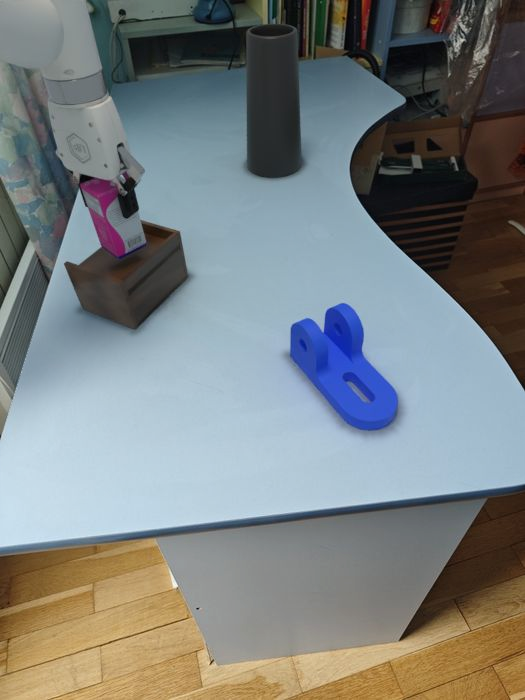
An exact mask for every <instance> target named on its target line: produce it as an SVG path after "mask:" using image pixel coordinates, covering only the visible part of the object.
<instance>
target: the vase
mask: <svg viewBox="0 0 525 700" xmlns="http://www.w3.org/2000/svg"><path fill="white" fill-rule="evenodd" d="M245 36H246V37H245V38H246V39H245V40H246V41H245V43H246V46H245V47H246V49H245V50H246V51H245V52H246V53H245V55H246V57H245V58H246V61H245V62H246V66H245V67H246V68H245V69H246V73H245V74H246V75H245V76H246V167H247V169H248V171H249V172H250V173H251V174H254V175H256V176H259V177H263V178H272V179H273V178H283V177H288V176H290V175H293V174H295V173H296V172H298V171H299V170H300V169H301V167H302V161H303V159H302V136H301V135H302V131H301V130H302V128H301V126H302V125H301V100H300V99H301V98H300V97H301V96H300V70H299V41H298V40H299V39H298V37H299V36H298V28H296V27H295V26H293V25H290V24H286V23H264V24H258V25H255V26H252V27H250V28H248V29H247V31H246V35H245Z"/></svg>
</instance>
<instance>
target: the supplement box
mask: <svg viewBox="0 0 525 700" xmlns="http://www.w3.org/2000/svg"><path fill="white" fill-rule="evenodd" d="M119 178H120V179H121V181H122V182H123V184H124V183H125V181H126V180H125V178H124V177H123V176H121V175H120V176H119ZM80 186H81V189H82V192H83V195H84V197H85V200H86V203H87V206H88V207H87V209H88V212H89V214H90V215H89V216H90V218H91V220H92V221H91V222H92V224H93V228H94V229H95V232H96V235H97V238H98V241H99V244H100V246H101V247H103V248H105V249H106V250H107V251H108V252H110V253H111V254H112V255H113V256H115V257H116V258H117V259H118V260H119V259H122V258H123V257H125V256H127V255H129V254H131V253H133V252H135V251H137V250H139V249H141V248H143V247H145V246H147V243H146V239H145V236H144V232H143V228H142V224H141V220H142V219H141V218H140V213H139V210H138V211H137V212H136V213H135V214H133V215H132V216H131V217H129V218H128V219H126V218H124V217H123V215H122V212H121V208H120V204H119V201H118V197H117V195H118V194H119V193H120V192H119V191H118V189H117V188H116V186H115V184H114V183H113V181H112V180H104V179H99V178H96V177H95V178H93V179H91V180H89V181H86V182H84V183H81V184H80Z"/></svg>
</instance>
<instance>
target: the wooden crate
mask: <svg viewBox="0 0 525 700" xmlns="http://www.w3.org/2000/svg"><path fill="white" fill-rule="evenodd" d="M140 220H141V224H142V228H143V232H144V236H145V239H146V243H147V246H145V247H143V248H141V249H139V250H137V251H135V252H133V253H131V254H129V255H127V256H125V257H123V258H122V259H119V260H118V259H117V258H116V257H115V256H113V255H112V254H111V253H110V252H108V251H107V250H106V249H105V248H103V247H102V246H101V247H99V248H98V249H97V250H96V251H94V252H93V253H92V254H90V255H89V256H87V258H85V259H84V260H83V261H82V262H80V263H79V264H77V263H73V262H71V261H68V260H67V261H65V262H64V263H63V266H64V268H65V271H66V273H67V275H68V277H69V280H70V282H71V285H72V287H73V290H74V293H75V294H76V297H77V299H78V302H79V305H80V307H81V310H84V311H86V312H88V313H91V314H94V315H97V316H99V317H101V318H104V319H106V320H110V321H112V322H114V323H117V324H119V325H121V326H125V327H127V328H130V329H132V330H137V329H138V328H139V327H140V326H141V325H142V324H143V323H144V322H145V321H146V320H147V319H148V318H149V317H150V316H151V315H152V314H153V313H154V312H155V311H156V310H157V309H158V308H159V307H160V306H161V305H163V303H165V301H166V300H167V299H168V298H169V297H170V296H171V295H172V294H173V293H174V292H175V291H176V290H177V289H178V288H179V287H180V286H181V285H182V284H183V283H184V282H185V281H186V280H187V279H188V278H189V272H188V266H187V262H186V261H187V260H186V257H185V250H184V245H183V239H182V234H181V230H176V229H175V228H170V227H167V226H164V225H160V224H156V223H152V222H148V221H146V220H143V219H140Z"/></svg>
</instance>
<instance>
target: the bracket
mask: <svg viewBox="0 0 525 700" xmlns="http://www.w3.org/2000/svg"><path fill="white" fill-rule="evenodd" d="M323 324H324V325H323V326H324V327H323V331H322V329H321V327H320V325H319V324H318V323H317V322H316V321H314V319H312V318H310V317H305V318H303V319H301V320H299V321H296V322H294V323H292V324H291V326H290V334H289V335H290V336H289V337H290V340H289V341H290V343H289V344H290V345H289V346H290V347H289V348H290V349H289V351H290V352H289V353H290V355H289V356H290V358H291V359H292V360H293V361H294V362H295V364H296V365H297V366H298V368H299V369H300V370H301V371H302V372H303V373H304V374H305V376H306V377H307V378H308V379H309V381H311V383H312V384H313V385H314V386H315V387H316V389H317V390H318V391H319V392H320V393H321V395H322V396H323V398H324V399H326V401H327V402H328V403H329V405H331V407H332V408H333V409H334V410H335V411H336V413H337V414H338V415H339V417H340V418H341V419H342V420H343V421H345V423H347V424H348V425H350V426H352V427H354V428H356V429H359V430H363V431H375V430H380V429H382V428H385V427H386V426H388V425H389V424H390V423H391V422H392V421H393V420H394V417H395V415H396V411H397V408H398V404H399V397H398V393H397V391H396V389H395V388H394V387H393V385H391V383H390V382H389V381H388V380H387V379H386V378H385V377H384V376H383V375H382V374H381V373H380V372H379V371H378V370H377V369H376V368H375V367H374V366H373V365H372V364H371V363H370V362H369V361H368V360H367V358H366V357H365V356H364V353H363V345H364V339H365V331H364V326H363V323H362V320H361V318H360V317H359V315H358V313H357V312H356V310H355V309H354V308H353V307H352V306H351V305H349V304H348V303H345V302H340V303H339V304H336V305H334V306H331V307H329V308H327V309H326V311H325V314H324V323H323ZM347 382H351V383H353V384H354V385H355V386H356V387H357V389H359V391H360V392H361V393H362V394H363V395H364V396H365V397H366V398H367V400H369V402H366V401H364V400H363V399H362V398H361V397H360V396H359V395H358V394H357V393H356V392H355V391H354V389H353V388H352V387H351V386H350V385H349V384H348V383H347Z"/></svg>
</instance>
